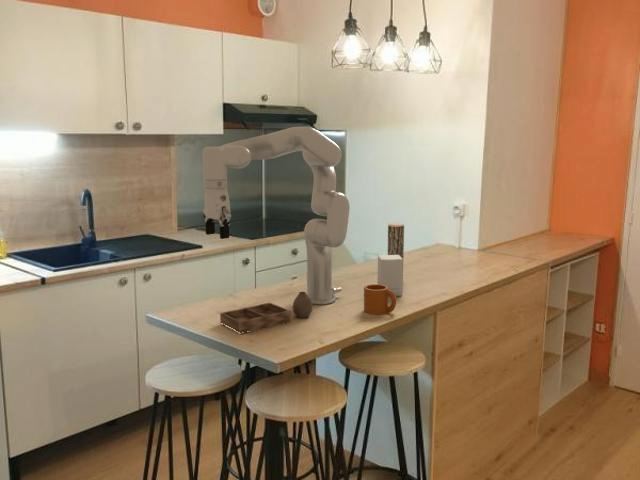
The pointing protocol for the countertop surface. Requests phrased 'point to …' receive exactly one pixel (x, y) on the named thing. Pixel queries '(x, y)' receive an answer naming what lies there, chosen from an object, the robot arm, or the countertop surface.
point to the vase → (302, 305)
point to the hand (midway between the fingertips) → (217, 236)
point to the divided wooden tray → (255, 317)
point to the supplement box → (391, 272)
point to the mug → (378, 299)
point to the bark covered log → (396, 239)
